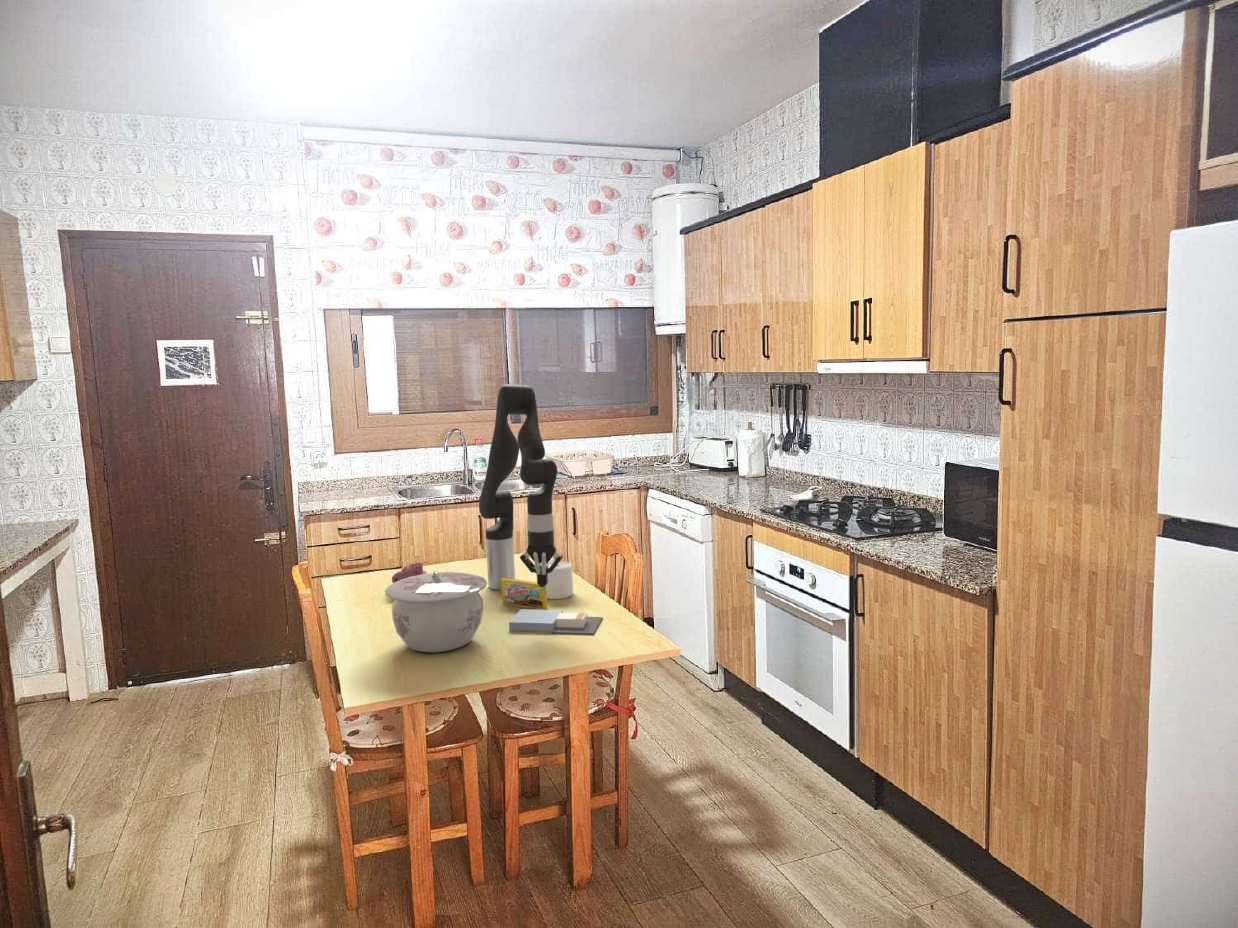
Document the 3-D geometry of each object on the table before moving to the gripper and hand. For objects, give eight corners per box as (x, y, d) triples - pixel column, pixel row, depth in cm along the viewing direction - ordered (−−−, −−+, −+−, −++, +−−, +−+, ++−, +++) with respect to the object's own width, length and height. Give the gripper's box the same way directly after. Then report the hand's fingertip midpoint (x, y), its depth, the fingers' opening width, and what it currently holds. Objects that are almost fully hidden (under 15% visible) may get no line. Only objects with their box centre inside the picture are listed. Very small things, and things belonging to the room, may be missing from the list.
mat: (563, 617, 243) (563, 616, 242) (602, 618, 241) (602, 616, 241) (552, 633, 229) (552, 631, 229) (593, 634, 227) (593, 633, 227)
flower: (442, 577, 281) (432, 551, 278) (432, 594, 267) (421, 568, 264) (403, 589, 282) (392, 564, 280) (391, 607, 268) (379, 581, 266)
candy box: (501, 604, 258) (500, 579, 257) (505, 602, 260) (504, 577, 259) (544, 610, 251) (543, 584, 249) (548, 608, 252) (546, 582, 251)
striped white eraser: (560, 620, 238) (560, 612, 238) (587, 621, 237) (586, 612, 237) (556, 627, 233) (555, 618, 232) (583, 627, 231) (582, 619, 231)
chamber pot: (444, 669, 205) (439, 590, 202) (366, 653, 218) (361, 578, 215) (511, 635, 229) (508, 563, 226) (437, 622, 242) (433, 554, 239)
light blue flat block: (521, 617, 244) (520, 609, 244) (562, 618, 242) (562, 610, 242) (509, 630, 232) (508, 622, 232) (553, 631, 230) (553, 623, 230)
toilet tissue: (553, 601, 259) (552, 571, 258) (532, 594, 268) (530, 564, 267) (579, 594, 266) (578, 564, 264) (558, 587, 275) (556, 558, 273)
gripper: (565, 525, 235) (567, 583, 238) (522, 524, 238) (524, 581, 240) (559, 531, 228) (561, 590, 231) (514, 530, 230) (516, 589, 233)
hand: (542, 586), depth 235 cm, fingers closed
